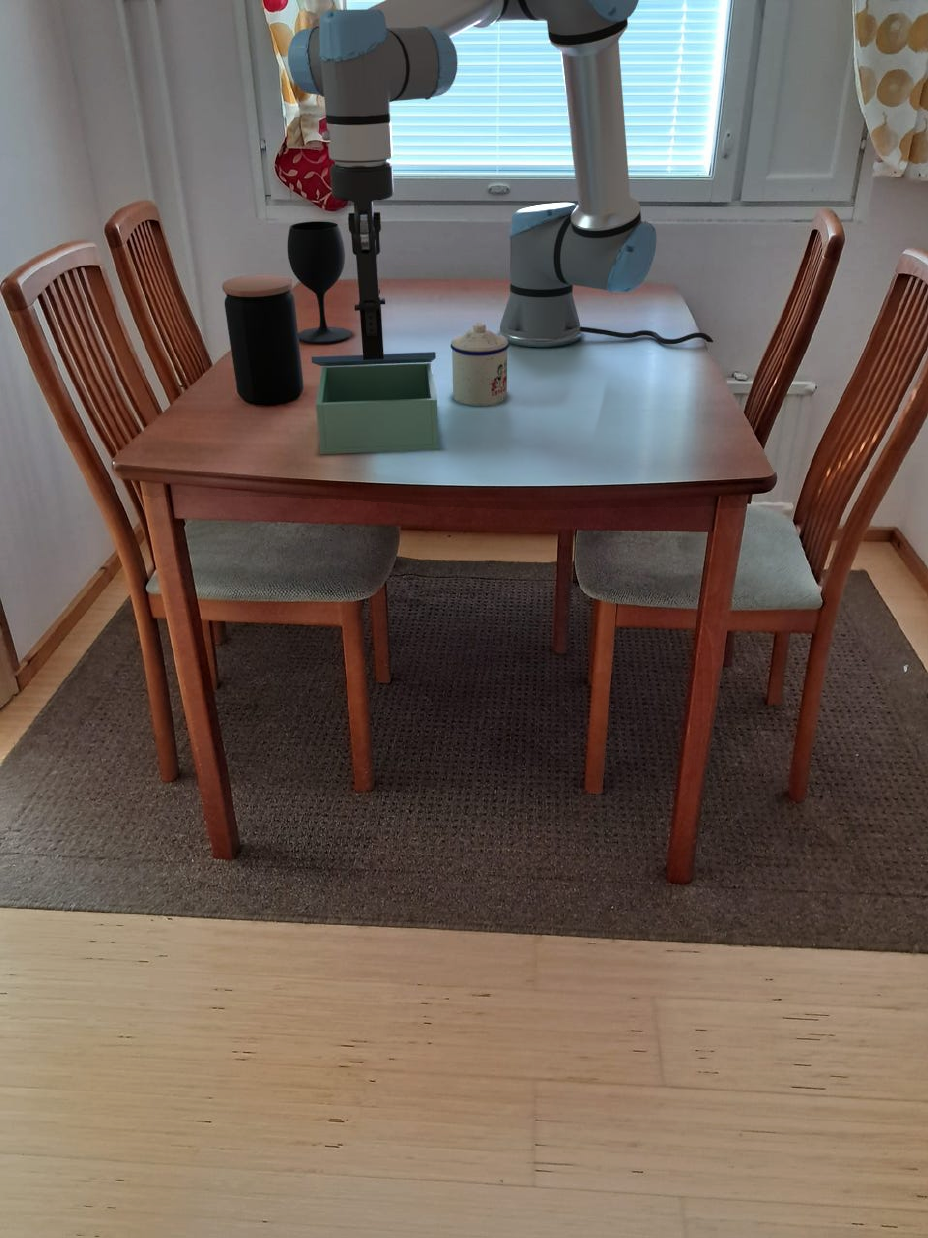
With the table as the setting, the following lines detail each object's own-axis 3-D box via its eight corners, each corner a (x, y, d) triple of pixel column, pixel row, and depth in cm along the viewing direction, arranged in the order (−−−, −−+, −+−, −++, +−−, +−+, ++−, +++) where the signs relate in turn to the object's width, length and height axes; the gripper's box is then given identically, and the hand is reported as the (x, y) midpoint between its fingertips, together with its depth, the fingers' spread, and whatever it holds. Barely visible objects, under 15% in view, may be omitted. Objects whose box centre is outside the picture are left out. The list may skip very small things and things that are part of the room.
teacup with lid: (503, 408, 149) (503, 333, 143) (446, 405, 151) (444, 331, 145) (514, 383, 159) (516, 312, 153) (461, 380, 161) (460, 310, 154)
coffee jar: (316, 388, 158) (304, 276, 149) (285, 410, 150) (271, 292, 140) (258, 382, 161) (244, 271, 152) (225, 403, 153) (208, 287, 143)
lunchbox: (438, 449, 136) (436, 399, 132) (321, 454, 135) (315, 404, 131) (432, 408, 150) (431, 362, 146) (326, 412, 149) (321, 366, 145)
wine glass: (286, 341, 181) (273, 229, 171) (314, 326, 189) (303, 218, 179) (335, 346, 178) (325, 232, 167) (360, 331, 186) (352, 221, 175)
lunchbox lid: (435, 358, 129) (435, 352, 129) (311, 362, 128) (311, 356, 128) (431, 362, 146) (431, 356, 146) (321, 366, 145) (321, 360, 145)
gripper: (331, 155, 119) (346, 344, 132) (326, 170, 108) (343, 374, 121) (391, 154, 120) (400, 342, 133) (393, 168, 109) (402, 372, 122)
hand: (373, 357), depth 127 cm, fingers closed
